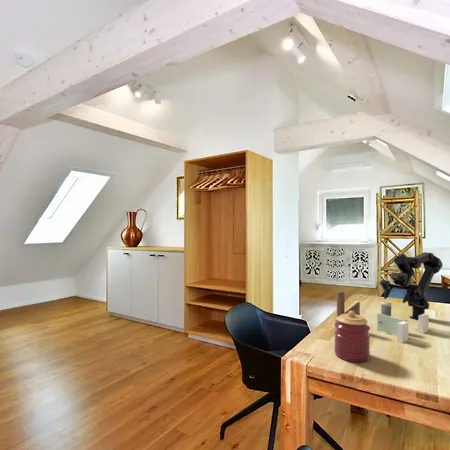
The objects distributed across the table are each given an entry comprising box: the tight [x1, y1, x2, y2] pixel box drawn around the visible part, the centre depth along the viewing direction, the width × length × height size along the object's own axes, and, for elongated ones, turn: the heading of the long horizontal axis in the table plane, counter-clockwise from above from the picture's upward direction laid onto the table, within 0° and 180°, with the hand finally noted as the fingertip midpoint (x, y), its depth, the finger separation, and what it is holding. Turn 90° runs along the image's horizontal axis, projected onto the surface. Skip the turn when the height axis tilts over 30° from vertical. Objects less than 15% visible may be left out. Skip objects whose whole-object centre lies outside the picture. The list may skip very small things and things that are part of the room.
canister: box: [333, 311, 371, 363], centre depth 120 cm, size 13×13×18 cm
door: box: [376, 313, 408, 337], centre depth 143 cm, size 14×3×8 cm, turn 33°
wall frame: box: [397, 313, 430, 344], centre depth 141 cm, size 26×2×8 cm, turn 125°
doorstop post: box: [380, 301, 392, 317], centre depth 150 cm, size 4×4×13 cm
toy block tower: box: [334, 290, 361, 328], centre depth 150 cm, size 4×11×18 cm, turn 46°
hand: (393, 300), depth 154 cm, fingers open, 9 cm apart
